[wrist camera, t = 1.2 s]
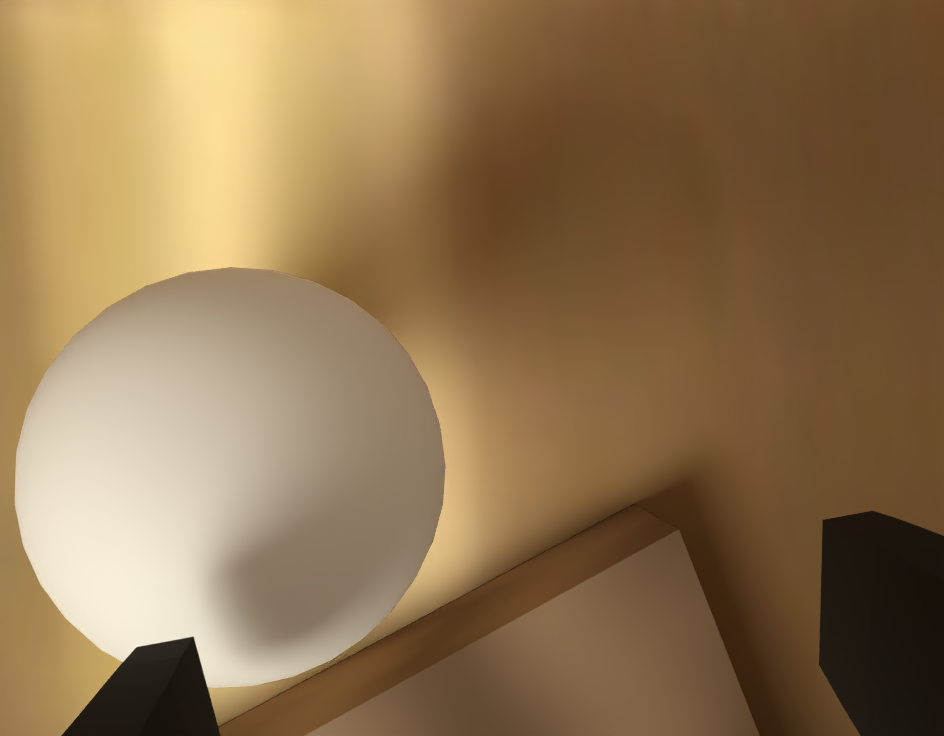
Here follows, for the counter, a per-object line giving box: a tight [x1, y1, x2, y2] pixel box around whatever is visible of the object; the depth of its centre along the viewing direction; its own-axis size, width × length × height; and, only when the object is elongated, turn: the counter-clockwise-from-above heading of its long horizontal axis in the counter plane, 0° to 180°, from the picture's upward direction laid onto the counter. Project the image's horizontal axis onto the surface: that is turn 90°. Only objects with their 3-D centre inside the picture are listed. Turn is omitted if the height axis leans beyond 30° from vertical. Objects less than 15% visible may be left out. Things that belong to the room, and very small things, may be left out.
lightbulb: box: [15, 267, 445, 688], centre depth 16 cm, size 6×6×11 cm
